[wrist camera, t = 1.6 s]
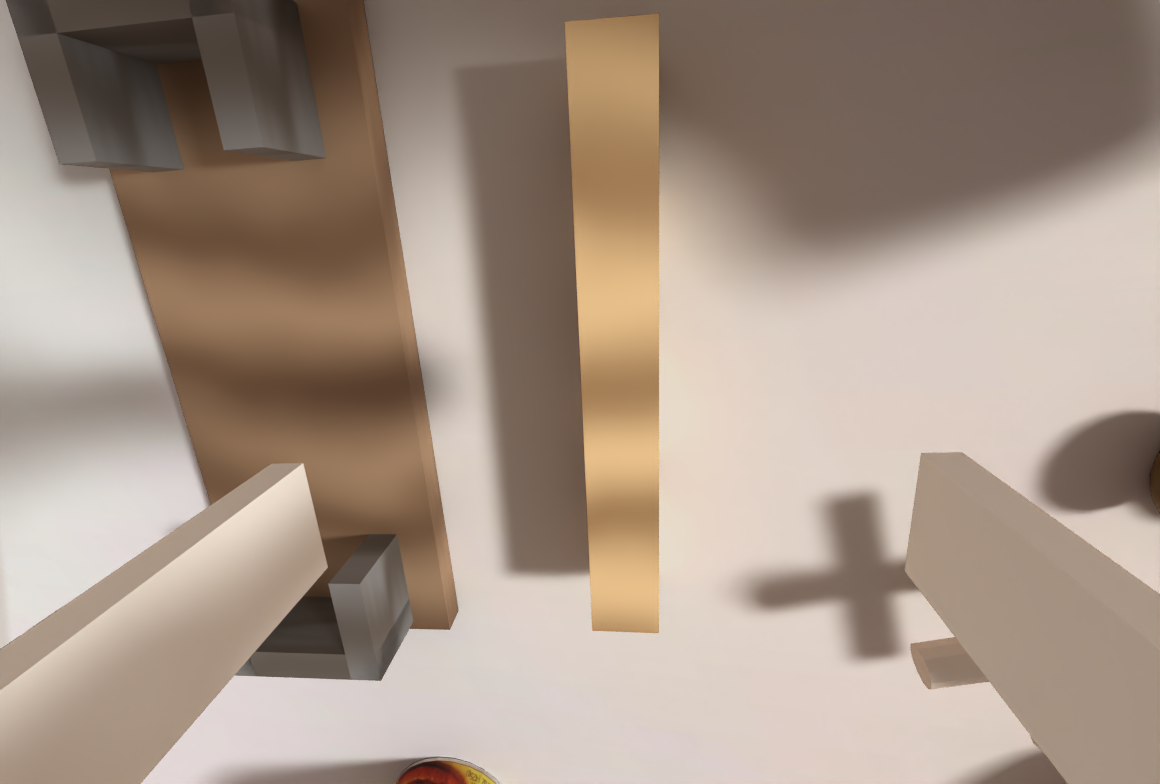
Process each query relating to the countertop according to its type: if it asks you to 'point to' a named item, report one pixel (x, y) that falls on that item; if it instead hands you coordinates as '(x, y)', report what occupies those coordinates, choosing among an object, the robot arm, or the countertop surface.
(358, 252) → the end cap board
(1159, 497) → the kendama
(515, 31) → the countertop surface
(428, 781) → the canned food
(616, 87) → the oak slat
